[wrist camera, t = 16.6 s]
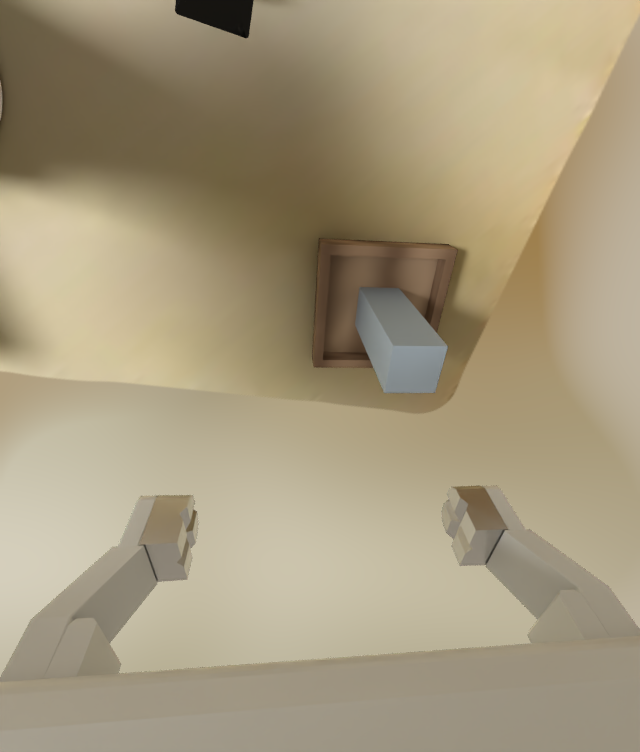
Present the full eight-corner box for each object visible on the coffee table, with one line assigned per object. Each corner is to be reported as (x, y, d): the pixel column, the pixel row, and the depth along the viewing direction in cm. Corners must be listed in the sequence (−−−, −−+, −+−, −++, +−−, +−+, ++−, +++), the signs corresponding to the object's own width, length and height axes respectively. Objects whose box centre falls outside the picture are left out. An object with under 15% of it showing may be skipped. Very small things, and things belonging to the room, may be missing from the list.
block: (354, 324, 43) (384, 393, 31) (359, 286, 40) (393, 345, 29) (392, 325, 43) (434, 392, 32) (399, 288, 41) (448, 346, 29)
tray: (312, 356, 45) (313, 367, 43) (319, 238, 38) (321, 244, 36) (421, 357, 47) (427, 367, 45) (448, 244, 39) (457, 249, 37)
